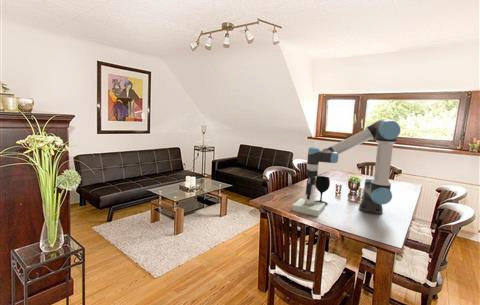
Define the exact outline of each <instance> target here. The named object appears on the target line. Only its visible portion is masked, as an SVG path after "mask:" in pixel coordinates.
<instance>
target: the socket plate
mask: <svg viewBox="0 0 480 305" xmlns="http://www.w3.org/2000/svg"><path fill="white" fill-rule="evenodd" d="M316 201H317V200H314V205H313V206H308V205H304V204H305V198H301V197H300V198H299V199H298V200H297V201H295V202H294V203H292V204H291V205H292V206H291V211H293V212H297V213H301V214H306V215H309V216H310V215H311V216H314V217H319V216H320V215H321V214H322V213H323V212H324V211H325V209H326V205H325V203H321V202H316Z"/></svg>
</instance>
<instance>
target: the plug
mask: <svg viewBox="0 0 480 305" xmlns="http://www.w3.org/2000/svg"><path fill="white" fill-rule="evenodd" d="M306 187H307V184H306V185H305V188H306ZM315 194H316V186H315V185H312V187H311V200H310V204H307V203H306V198H307V194H306V192H305V195H304V199H305V204H304V205H308V206H313V205H314V201H315Z"/></svg>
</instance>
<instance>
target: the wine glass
mask: <svg viewBox="0 0 480 305" xmlns="http://www.w3.org/2000/svg"><path fill="white" fill-rule="evenodd" d="M330 186H331V182H330V177H328V176H326V175H317V176H316V179H315V189H317V191H318V192H319V193H320V197H319V198H320V199H319V200H315V201H316V202H321V203H325V206H327V205H329V203H328V202H326V201H323V200H322V199H323V194H324V193H325V192H327V190H329V188H330Z"/></svg>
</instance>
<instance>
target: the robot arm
mask: <svg viewBox="0 0 480 305" xmlns="http://www.w3.org/2000/svg"><path fill="white" fill-rule="evenodd" d="M400 133H401V127H400V124H399V123H398V122H397V121H395V120H393V119H380V120H377V121H375V122H373V123H372V124H370V125H368V126H367V127H365V129H363V130H361V131H360V132H357V133H355V134H353V135H351V136H349V137H348V138H345V139H343V140H341V141H339V142H337V143H334V144H333V145H331V146H329V147H327V148H323V149H322V150H321V149H320V147H317V146H316V147H315V146H312V147H311V146H310V147H309V148H308V151H307V159H306V162H307V163H306V173H305V175H306V176H308V178H307V180H306V185H307V187H306V186H305V193H306V194H307V198H306V203H307V204H310V200H311V187H312V185H315V181H316V178H317V176H319V175H318V173H319V171H318V170H319V163H329V164H337V163H338V161H339V155H341V154H343V153H344V152H347V151H349V150H351V149H353V148H355V147H357V146H359V145H361V144H363V143H365V142H367V141H370V140H372V141H373V140H375V141H376V143H377V146H376V147H377V148H376V154H375V155H376V156H375V157H376V158H375V165H374V175H373V178H365V181H364V187H363V195H362V200H361V201H360V203H359V207H358V209H359V211H361V212H364V213H367V214H370V215H382V214H383V210H384V209H383V205H387V204H389V203H390V202H391V201H392V198H393V194H392V191H391V186H392V184H391V182H390V181H389V180H390V172H391V165H392V164H391V163H392V159H393V158H392V156H393V148H394V144H396V143H397V138H398V137H399V135H400Z"/></svg>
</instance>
